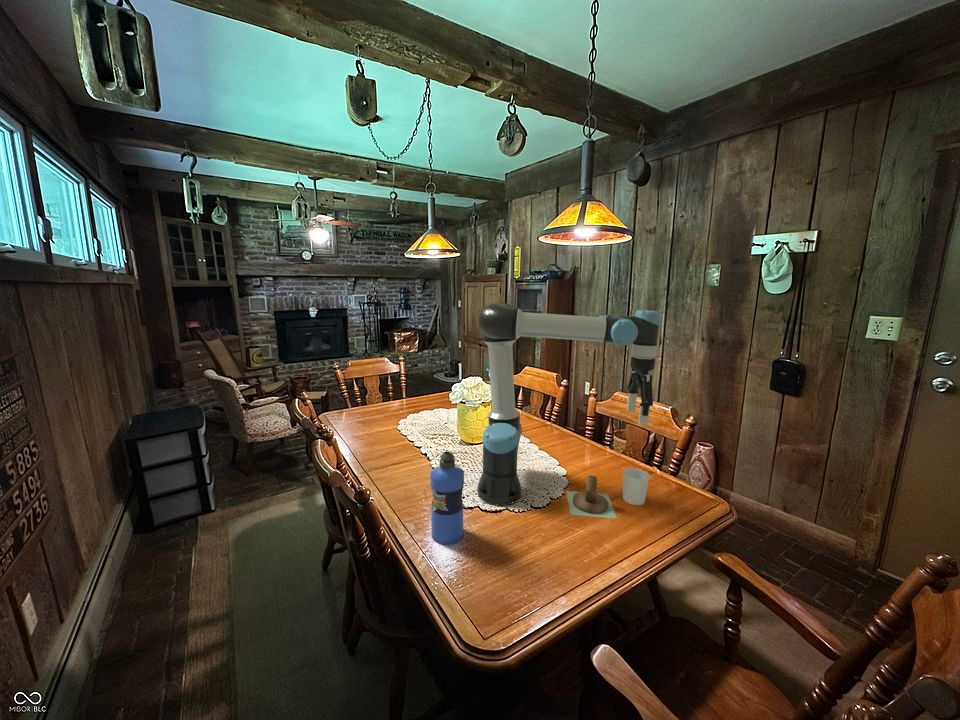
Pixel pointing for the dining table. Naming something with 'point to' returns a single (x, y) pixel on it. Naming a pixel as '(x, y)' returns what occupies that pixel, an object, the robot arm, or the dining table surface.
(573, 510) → the mat
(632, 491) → the white cup
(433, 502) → the water bottle
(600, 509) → the lid
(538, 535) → the dining table surface
